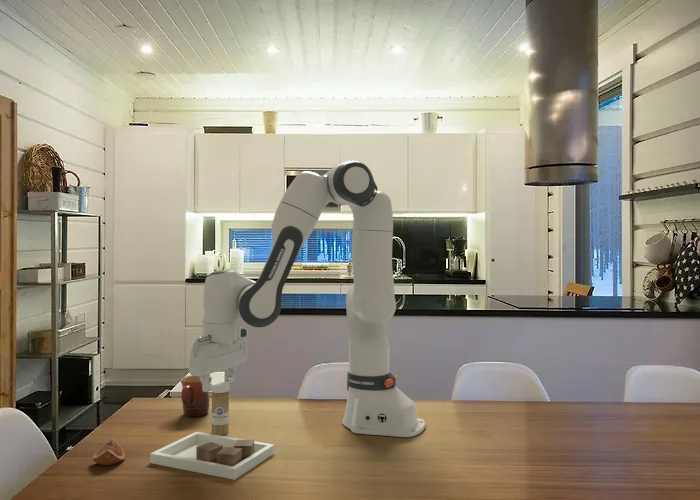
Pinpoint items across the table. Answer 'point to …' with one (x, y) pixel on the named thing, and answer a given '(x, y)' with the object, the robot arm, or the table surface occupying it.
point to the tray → (185, 459)
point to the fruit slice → (109, 453)
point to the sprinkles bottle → (220, 408)
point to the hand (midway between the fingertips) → (218, 387)
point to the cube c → (245, 447)
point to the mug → (194, 397)
